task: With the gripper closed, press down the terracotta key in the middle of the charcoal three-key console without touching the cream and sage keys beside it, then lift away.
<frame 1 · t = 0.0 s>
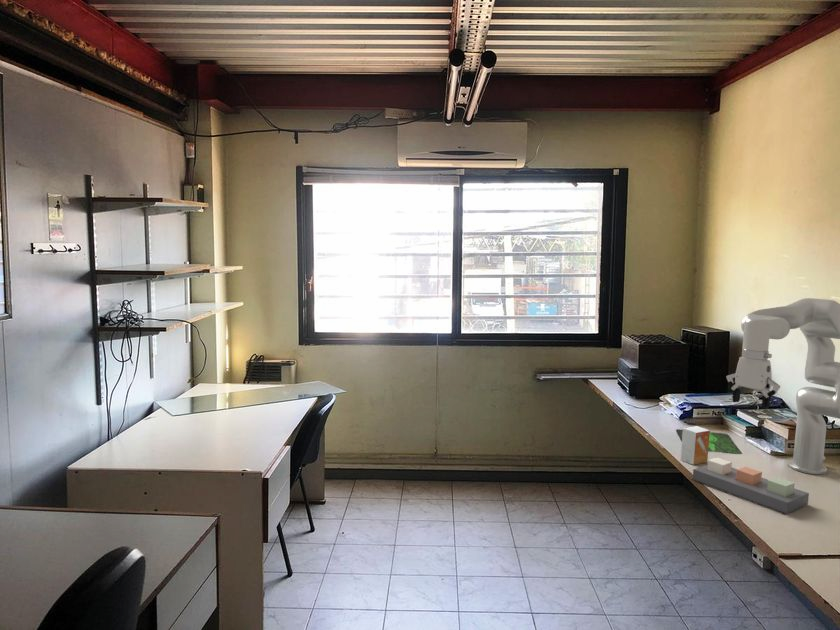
hand: (750, 404, 198), 31 cm above the table, tool pointing down, fingers open, 9 cm apart
small box: (693, 461, 232), on the table
terracotta key: (748, 477, 203), point 5 cm above the table, slide at 0.0 cm
mouse mat: (707, 443, 256), on the table
cream key: (719, 467, 212), point 5 cm above the table, slide at 0.0 cm
sage key: (780, 488, 194), point 5 cm above the table, slide at 0.0 cm
key console: (747, 491, 203), on the table
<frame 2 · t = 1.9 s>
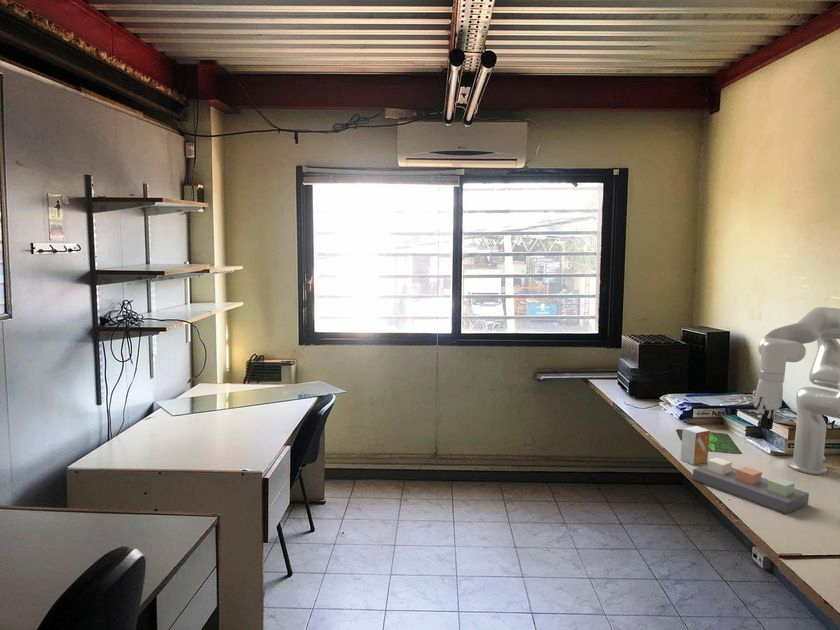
hand: (766, 428, 206), 21 cm above the table, tool pointing down, fingers closed
nothing on the table moved.
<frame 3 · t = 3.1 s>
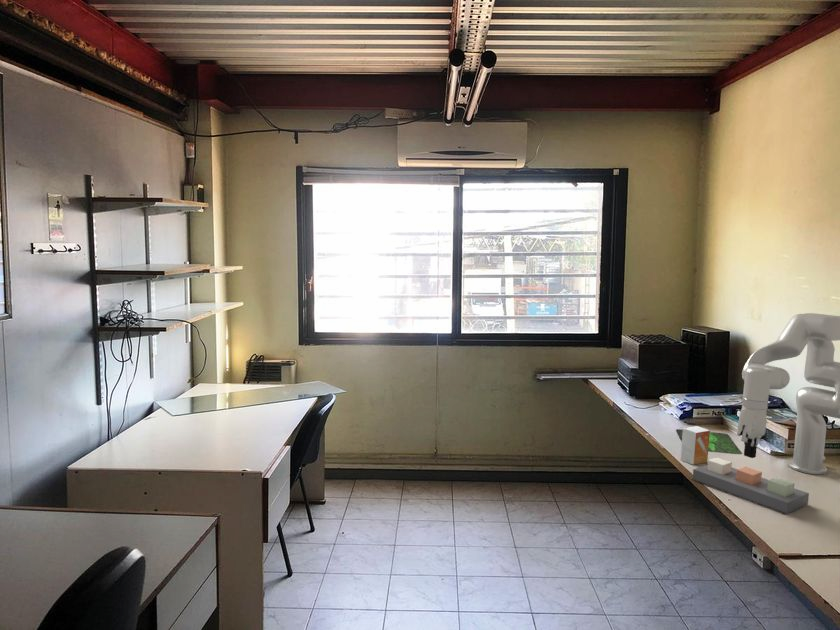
hand: (749, 456, 202), 13 cm above the table, tool pointing down, fingers closed
nothing on the table moved.
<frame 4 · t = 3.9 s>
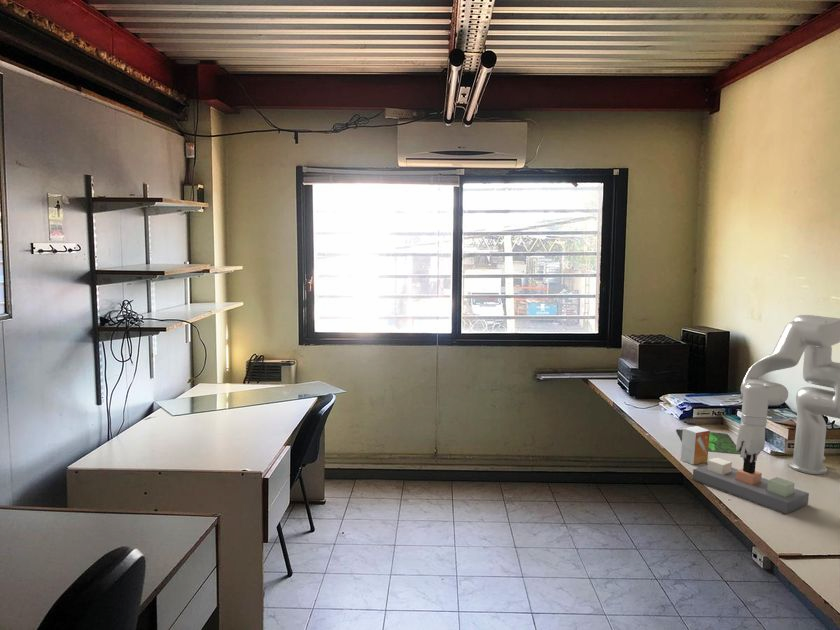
hand: (748, 471, 202), 7 cm above the table, tool pointing down, fingers closed
terracotta key: (748, 478, 203), point 5 cm above the table, slide at 0.4 cm, touching gripper
everything else where it was.
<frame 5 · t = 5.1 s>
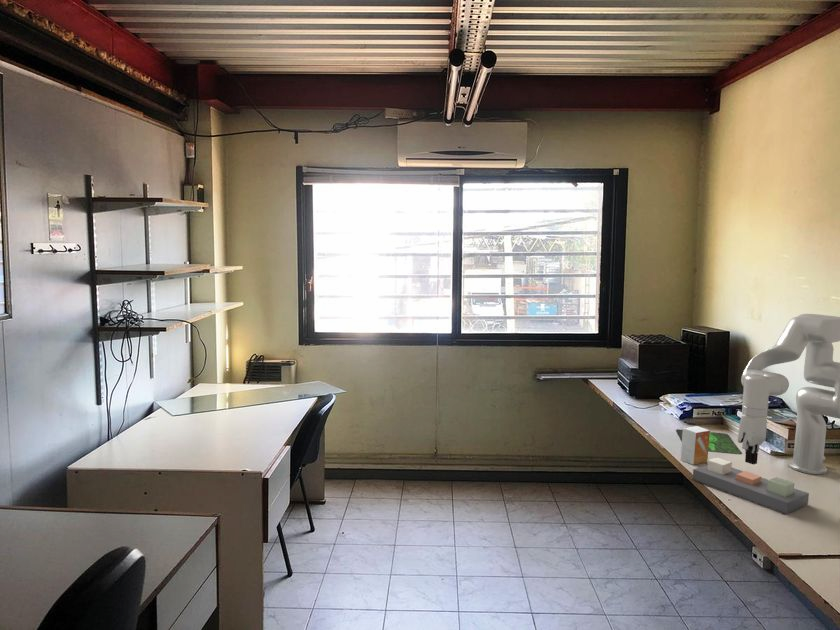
hand: (751, 462, 203), 10 cm above the table, tool pointing down, fingers closed
terracotta key: (748, 482, 203), point 3 cm above the table, slide at 1.6 cm
everything else where it was.
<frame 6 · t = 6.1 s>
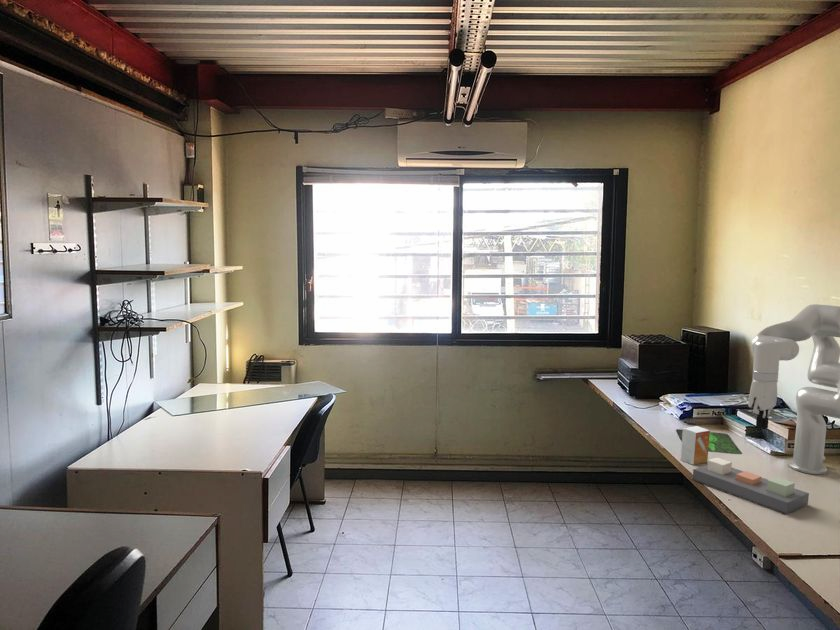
hand: (761, 427, 204), 22 cm above the table, tool pointing down, fingers closed
nothing on the table moved.
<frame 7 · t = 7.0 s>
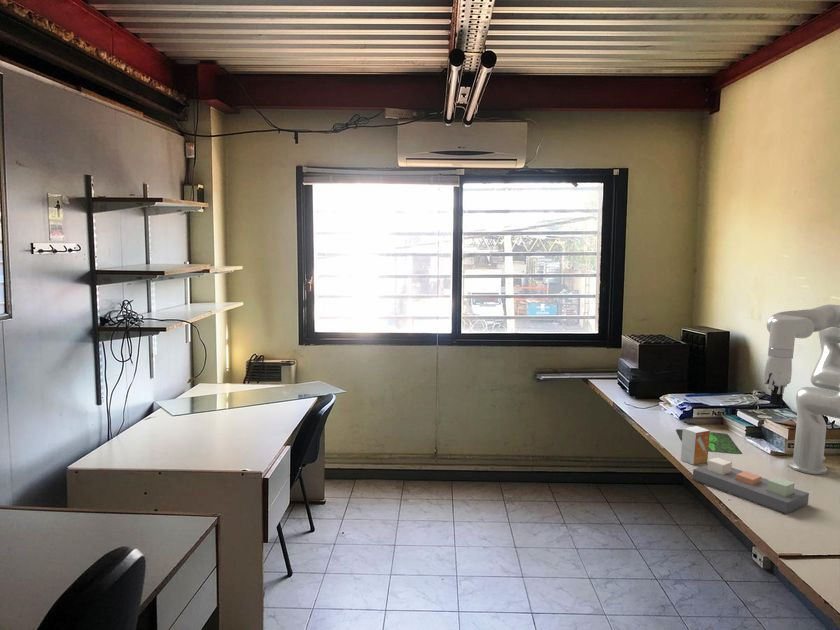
hand: (775, 404, 207), 29 cm above the table, tool pointing down, fingers closed
nothing on the table moved.
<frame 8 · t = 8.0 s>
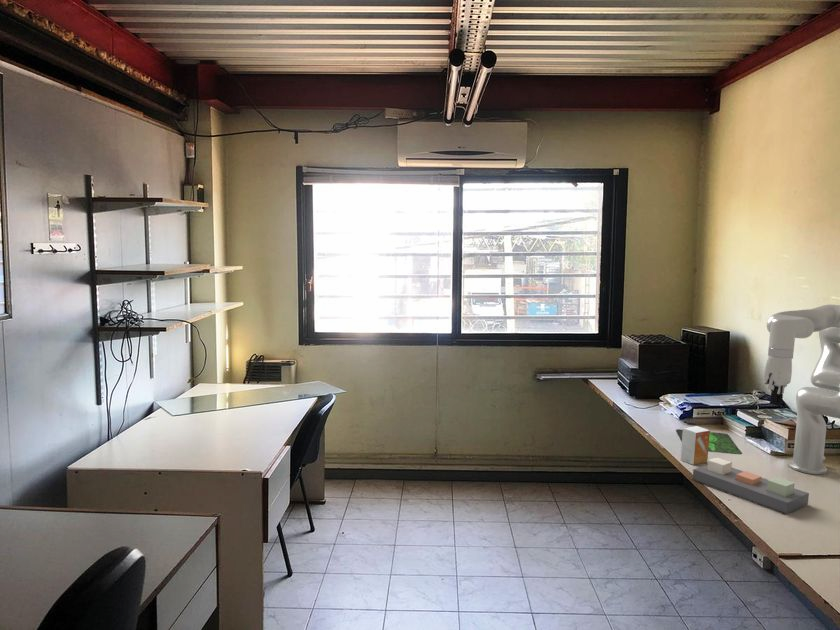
hand: (775, 404, 207), 29 cm above the table, tool pointing down, fingers closed
nothing on the table moved.
at the end: terracotta key slide at 1.6 cm; cream key slide at 0.0 cm; sage key slide at 0.0 cm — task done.
